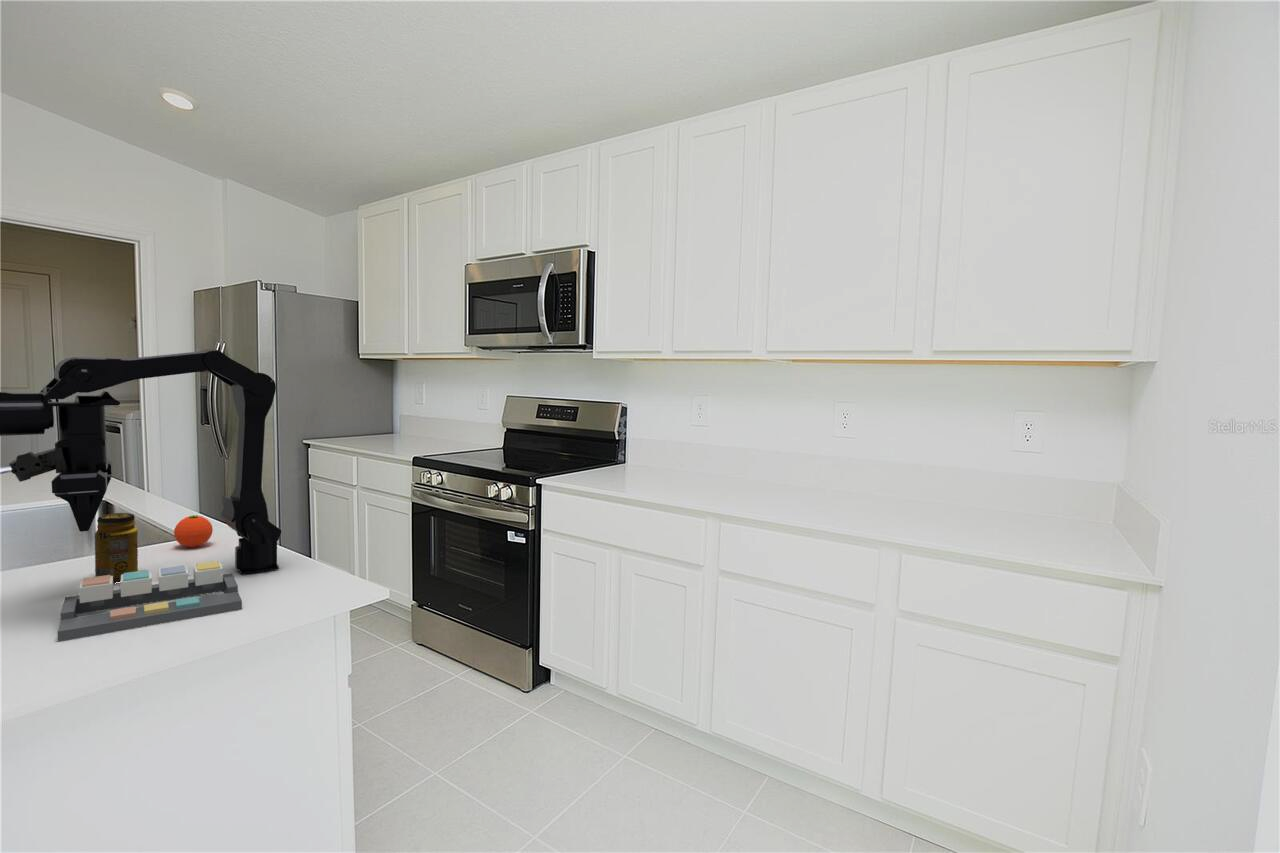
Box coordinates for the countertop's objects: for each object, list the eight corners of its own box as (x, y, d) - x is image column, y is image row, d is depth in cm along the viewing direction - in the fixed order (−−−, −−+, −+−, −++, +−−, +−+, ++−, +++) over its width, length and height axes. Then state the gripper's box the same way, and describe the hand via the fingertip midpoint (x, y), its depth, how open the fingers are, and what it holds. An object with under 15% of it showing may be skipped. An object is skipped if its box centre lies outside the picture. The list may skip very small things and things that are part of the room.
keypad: (232, 586, 111) (232, 573, 111) (241, 609, 101) (241, 594, 101) (65, 612, 97) (65, 597, 96) (57, 641, 87) (57, 624, 87)
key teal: (151, 592, 101) (150, 569, 101) (151, 600, 98) (151, 576, 98) (121, 596, 99) (121, 572, 98) (121, 605, 95) (120, 580, 95)
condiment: (145, 570, 117) (145, 510, 116) (131, 585, 109) (130, 520, 109) (97, 574, 114) (96, 512, 113) (79, 589, 106) (78, 523, 105)
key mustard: (220, 581, 107) (219, 560, 107) (222, 589, 104) (222, 566, 104) (193, 585, 105) (193, 563, 105) (195, 593, 102) (195, 570, 101)
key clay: (113, 597, 98) (112, 573, 98) (112, 606, 95) (112, 581, 94) (81, 602, 96) (81, 578, 95) (79, 611, 92) (79, 586, 92)
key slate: (186, 586, 104) (186, 564, 104) (188, 594, 101) (188, 571, 101) (158, 590, 102) (158, 568, 102) (159, 599, 99) (159, 575, 98)
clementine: (173, 543, 135) (173, 512, 134) (211, 539, 139) (211, 509, 138) (174, 552, 128) (173, 520, 128) (213, 548, 133) (213, 517, 132)
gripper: (23, 428, 102) (28, 518, 103) (1, 441, 87) (7, 545, 89) (110, 426, 109) (114, 511, 110) (103, 438, 94) (107, 535, 95)
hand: (86, 524), depth 101 cm, fingers open, 9 cm apart
